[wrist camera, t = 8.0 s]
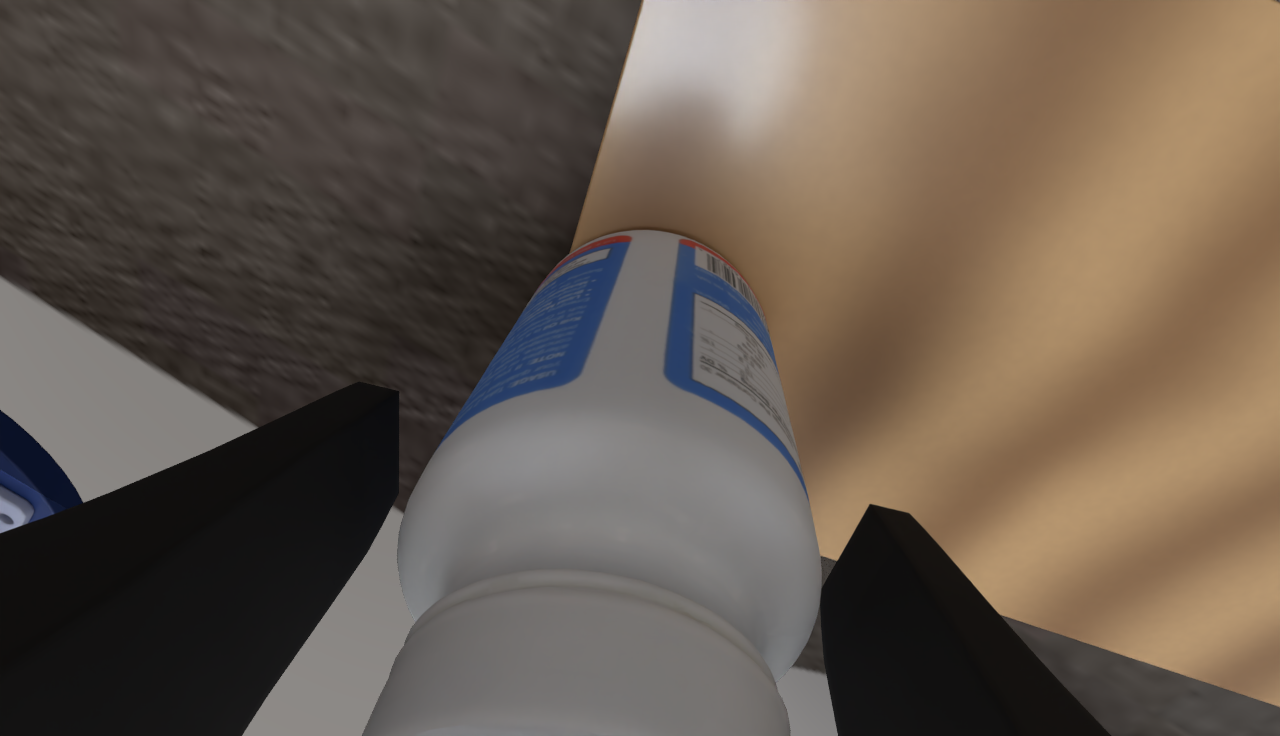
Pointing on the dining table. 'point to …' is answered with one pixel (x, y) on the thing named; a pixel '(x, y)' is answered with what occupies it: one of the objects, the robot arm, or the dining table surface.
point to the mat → (1002, 284)
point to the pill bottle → (612, 517)
